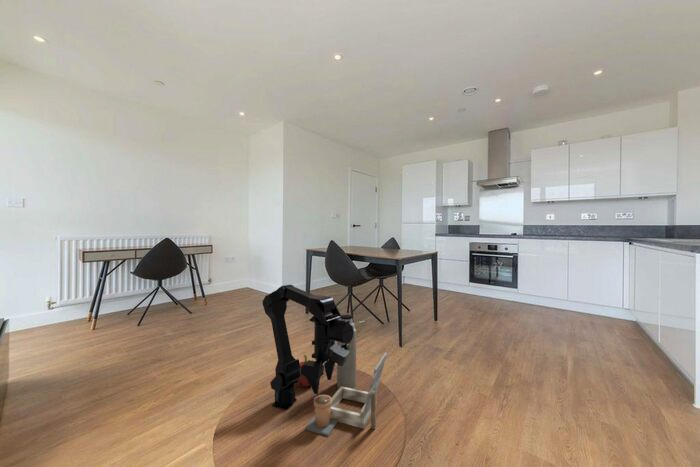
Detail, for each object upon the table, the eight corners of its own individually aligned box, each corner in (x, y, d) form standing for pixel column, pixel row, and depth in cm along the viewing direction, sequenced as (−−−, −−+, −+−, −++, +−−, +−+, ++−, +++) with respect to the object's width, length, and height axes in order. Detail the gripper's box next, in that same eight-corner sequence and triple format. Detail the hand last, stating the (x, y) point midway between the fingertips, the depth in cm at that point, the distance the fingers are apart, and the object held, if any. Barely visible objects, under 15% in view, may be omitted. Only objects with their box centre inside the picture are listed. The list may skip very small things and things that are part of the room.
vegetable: (292, 378, 113) (292, 355, 114) (316, 375, 116) (316, 352, 117) (294, 392, 103) (294, 366, 103) (321, 388, 106) (321, 362, 106)
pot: (310, 425, 83) (310, 402, 83) (318, 414, 88) (319, 393, 88) (326, 430, 80) (326, 406, 81) (334, 419, 86) (334, 396, 86)
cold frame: (324, 417, 87) (324, 360, 88) (340, 395, 100) (341, 345, 101) (376, 432, 81) (376, 369, 82) (387, 406, 94) (387, 352, 95)
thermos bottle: (356, 380, 112) (356, 313, 113) (356, 390, 104) (356, 318, 105) (337, 379, 112) (337, 313, 114) (336, 390, 104) (336, 318, 106)
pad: (305, 429, 82) (305, 427, 82) (317, 414, 89) (317, 412, 89) (328, 436, 79) (328, 434, 79) (339, 419, 86) (339, 417, 86)
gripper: (333, 351, 74) (333, 408, 73) (356, 331, 91) (356, 377, 90) (299, 345, 78) (298, 400, 77) (327, 327, 95) (327, 372, 95)
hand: (323, 386), depth 85 cm, fingers open, 9 cm apart
